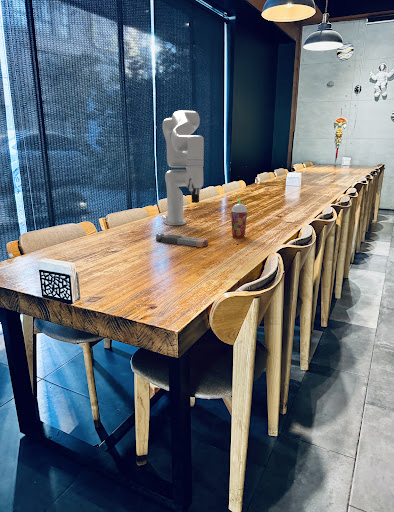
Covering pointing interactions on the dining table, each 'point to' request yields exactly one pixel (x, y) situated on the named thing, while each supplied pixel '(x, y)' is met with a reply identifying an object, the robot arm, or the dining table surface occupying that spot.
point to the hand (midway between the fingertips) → (195, 202)
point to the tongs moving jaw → (159, 237)
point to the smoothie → (238, 220)
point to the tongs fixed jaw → (183, 241)
